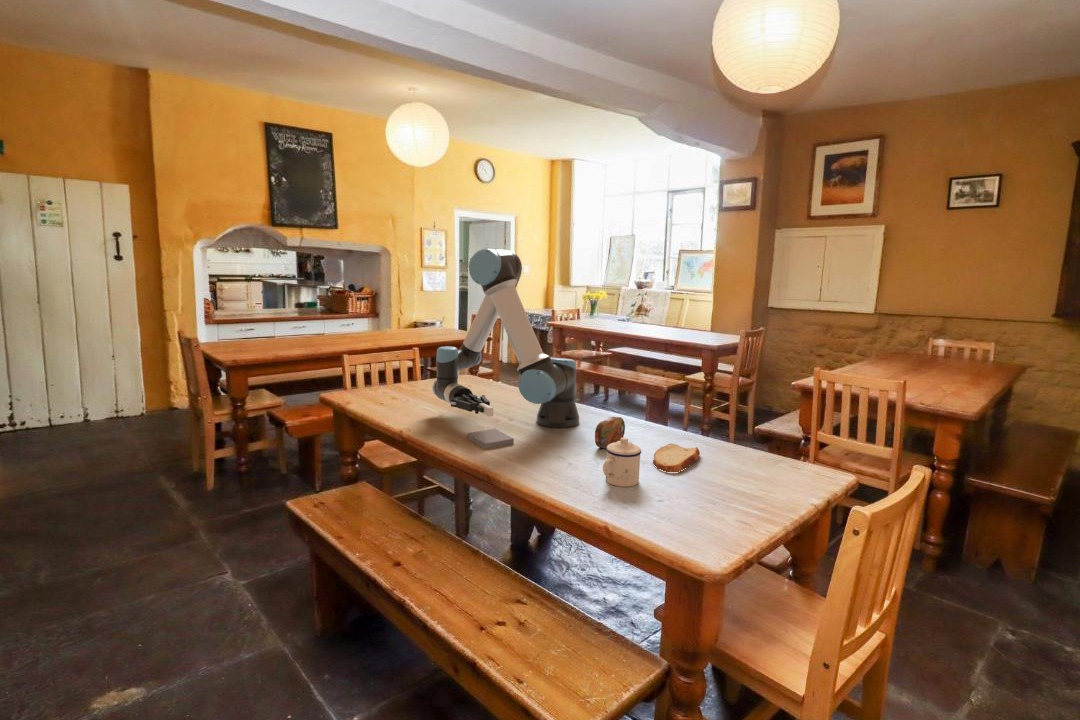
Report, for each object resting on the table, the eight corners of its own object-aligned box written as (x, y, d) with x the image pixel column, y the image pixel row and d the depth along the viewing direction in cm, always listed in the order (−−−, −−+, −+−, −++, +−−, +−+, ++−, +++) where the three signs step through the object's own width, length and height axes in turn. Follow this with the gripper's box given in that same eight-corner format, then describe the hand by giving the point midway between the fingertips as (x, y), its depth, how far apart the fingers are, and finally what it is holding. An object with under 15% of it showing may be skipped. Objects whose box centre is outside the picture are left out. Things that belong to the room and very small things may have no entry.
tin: (601, 452, 169) (602, 425, 168) (592, 449, 171) (593, 423, 170) (625, 440, 181) (626, 415, 180) (616, 438, 183) (618, 413, 182)
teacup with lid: (619, 471, 153) (622, 431, 151) (646, 482, 147) (649, 439, 145) (589, 482, 146) (591, 439, 143) (616, 493, 139) (619, 448, 137)
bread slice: (665, 476, 152) (665, 463, 152) (636, 454, 169) (636, 442, 169) (722, 471, 157) (723, 458, 156) (688, 450, 174) (689, 438, 174)
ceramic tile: (467, 432, 178) (485, 443, 169) (495, 428, 184) (513, 438, 174) (467, 439, 179) (485, 450, 169) (495, 435, 184) (513, 445, 174)
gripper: (475, 404, 198) (508, 420, 179) (441, 408, 191) (472, 426, 172) (475, 383, 197) (509, 398, 177) (441, 387, 190) (472, 402, 170)
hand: (490, 412), depth 175 cm, fingers closed
